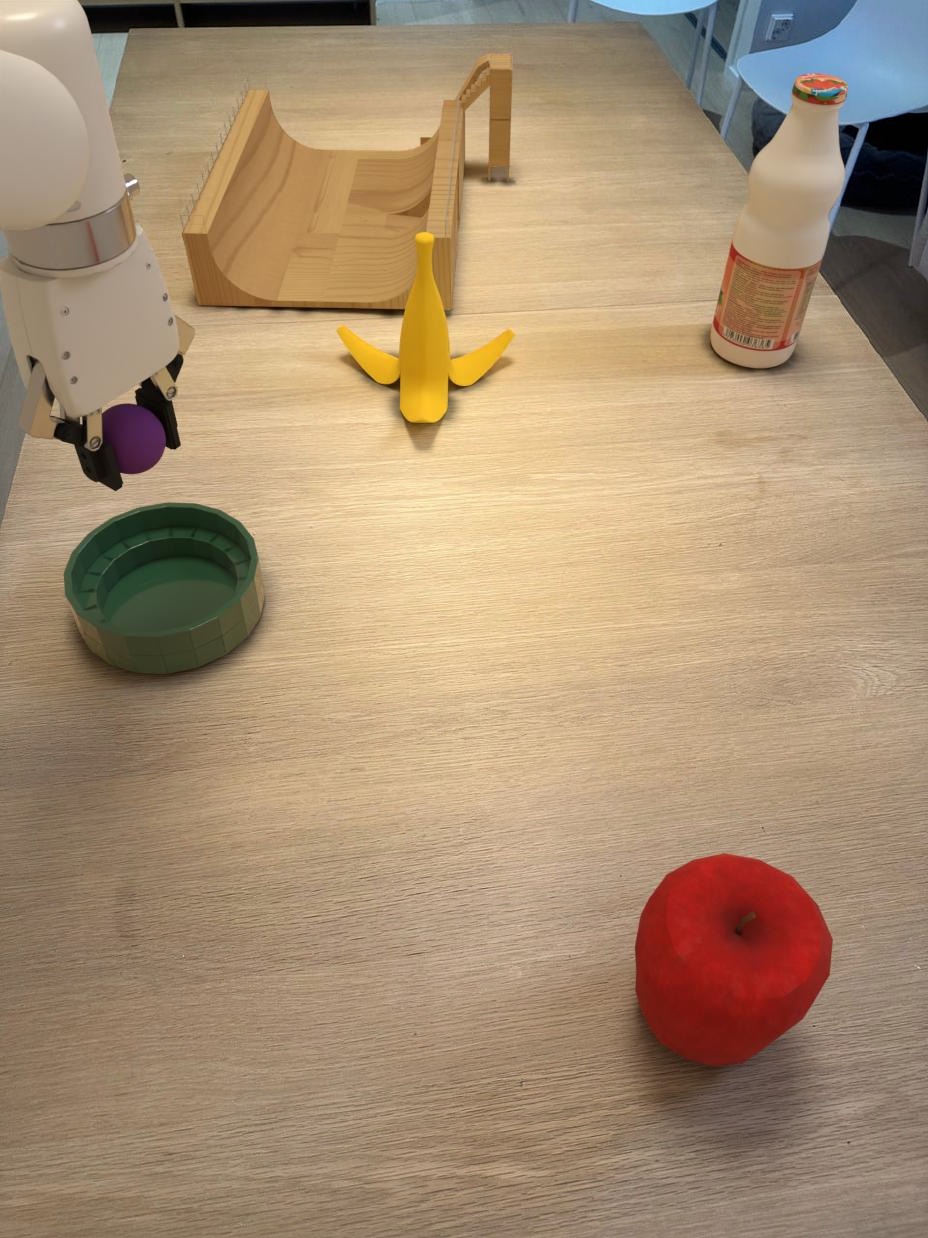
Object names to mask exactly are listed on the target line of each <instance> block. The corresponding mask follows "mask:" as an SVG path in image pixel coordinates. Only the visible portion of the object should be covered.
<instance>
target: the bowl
mask: <svg viewBox="0 0 928 1238" xmlns="http://www.w3.org/2000/svg"><path fill="white" fill-rule="evenodd" d="M63 584H64V587H63V588H64V595H65V598H66V601H67V604H68V606H69V609H70V612H71V614H72V616H73V619H74V622H75V625H76V627H77V629H78V633H79V634H80V635H81V638H82V639H83V641H84V643H85V644H86V645H87V647H88V649H89V650H90V651H91V652H92V653H93V654H94V655H96V656H98V657H99V658H100V659H101V660H103V661H104V662H106V663H107V664H109V665H110V666H113V667H116V668H119V669H122V670H125V671H128V672H129V671H130V672H132V673H136V674H157V675H159V674H161V675H168V674H174V673H178V672H183V671H188V670H192V669H193V670H194V669H198V668H201V667H203V666H205V665H206V664H209V663H211V662H213V661H215V660H218V659H219V658H222V657H223V656H226V655H227V654H228V653H230V652H231V651H232V650H234V649H235V648H236V647H237V646H238V645H240V644H241V643H242V642H243V641H244V640H245V639H247V638H248V637H249V636H250V634H251V632H252V631H253V629H254V627H255V626H256V624H257V623H258V621H259V620H260V618H261V617H262V612H263V608H264V602H265V598H266V594H265V587H264V582H263V574H262V569H261V563H260V558H259V553H258V550H257V546H256V541H255V538H254V537H253V535H252V534H251V533H250V532H249V531H248V529H247V528H246V527H245V526H244V524H243V523H242V522H241V521H240V520H238V519H237V518H235V517H233V516H231V515H230V514H228V513H227V512H225V511H224V510H222V509H220V508H219V509H218V508H215V507H211V506H207V505H203V504H199V503H196V502H160V503H155V504H149V505H144V506H138V507H135V508H133V509H131V510H128V511H125V512H122V513H120V514H118V515H115V516H112V517H110V518H109V519H107V520H106V521H104V522H103V523H102V524H100V525H98V526H97V527H95V528H94V529H93V530H91V531H90V532H88V533H87V534H86V535H85V536H84V538H83V539H82V540H81V541H80V542H79V543H78V544H77V546H76V547H75V548H74V549H73V550H72V552H71V553H70V556H69V559H68V561H67V564H66V567H65V568H64V571H63Z"/></svg>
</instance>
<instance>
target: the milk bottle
mask: <svg viewBox="0 0 928 1238" xmlns="http://www.w3.org/2000/svg"><path fill="white" fill-rule="evenodd" d="M848 92H849V85H848V83H847V82H846V81H845V80H844V79H842V78H840V77H837V76H834V75H830V74H825V73H817V72H815V73H813V72H811V73H805V74H801V75H799V76H797V78H796V79H795V81H794V83H793V86H792V88H791V95H790V98H791V101H792V103H791V106H790V107H789V110H788V112H787V114H786V115H785V118H784V119H783V121H782V123H781V124H780V126H779V128H778V129H777V131H776V133H775V134H774V135H773V137H772V139H771V140H770V141H769V142H768V143H767V144H766V145H765V146H764V147H763V148H761V149H760V150H759V152H758V153H757V154H756V155H755V157H754V159H753V161H752V164H751V166H750V170H749V172H748V177H747V191H748V192H747V195H748V196H747V201H746V202H745V204H744V206H743V207H742V209H741V210H740V212H739V214H738V217H737V220H736V223H735V227H734V230H733V233H732V237H731V243H730V247H729V252H728V256H727V259H726V260H727V261H726V264H725V269H724V273H723V277H722V281H721V285H720V290H719V293H718V298H717V302H716V307H715V311H714V316H713V318H712V319H713V320H712V324H711V328H710V344H711V348H713V350H714V351H715V353H716V354H717V355H719V356H720V357H721V358H722V359H724V360H726V361H727V362H729V363H732V364H734V365H737V366H741V367H745V368H751V369H769V368H774V367H778V366H779V365H782V364H784V363H786V361H788V360H789V359H790V358H791V356H792V355H793V353H794V351H795V348H796V346H797V343H798V339H799V337H800V333H801V331H802V330H801V329H802V326H803V323H804V320H805V316H806V314H807V311H808V307H809V304H810V301H811V297H812V294H813V292H814V288H815V285H816V282H817V278H818V275H819V271H820V268H821V265H822V261H823V259H824V256H825V253H826V249H827V246H828V241H829V238H830V232H831V219H830V215H831V211H832V210H833V208H834V206H835V205H836V204H837V202H838V200H839V198H840V196H841V195H842V191H843V188H844V184H845V181H846V180H845V179H846V168H845V164H844V161H843V158H842V153H841V147H840V134H839V133H840V132H839V128H840V127H839V112H840V109H841V108H842V107H844V105H845V102H846V100H847V97H848Z"/></svg>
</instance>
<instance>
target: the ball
mask: <svg viewBox="0 0 928 1238" xmlns="http://www.w3.org/2000/svg"><path fill="white" fill-rule="evenodd" d="M102 439H104V440H105V441H107V442H109V443H110V444H111V445H112V447H113V450H114V453H115V457H116V460H117V464H118V467H119V470H120V474H123V475H138V474H142V473H146V472H148V471H150V470H151V469H153V468H154V467H155V466H156V465H157V464H158V463H159V462H160V460H161V459H162V457H163V456H164V452H165V450H166V447H165V446H166V437H165V431H164V428H163V426H162V424H161V422H160V421H159V419H158V418H157V417H156V416H155V415H154V414H153V413H152V412H151V411H149V410H148V409H146V408H144V407H142V406H140V405H137V403H127V402H126V403H118V404H115V405H112V406H110V407H108V408H107V409H105V410H104V411H102Z"/></svg>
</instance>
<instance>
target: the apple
mask: <svg viewBox="0 0 928 1238" xmlns="http://www.w3.org/2000/svg"><path fill="white" fill-rule="evenodd" d="M833 944H834V939H833V936H832V934H831V931H830V929H829V927H828V925H827V922H826V920H825V917H824V915H823V913H822V910H821V908H820V906H819V904H818V903H817V902H816V900H814V898H813V897H811V895H810V894H809V893H808V892H807V891H806V889H804V887H802V885H801V884H800V883H799V881H797V879H796V878H794V876H793V875H791V874H789V873H786V872H785V871H783V870H781V869H779V868H777V867H775V866H773V865H771V864H769V863H767V862H765V861H763V860H761V859H758V858H754V857H747V856H743V855H738V854H731V853H725V852H724V853H723V852H722V853H719V854H714V855H710V856H703V857H700V858H695V859H692V860H690V861H688V862H686V863H685V864H683V865H681V866H679V867H677V868H675V869H673V870H672V871H670V872H669V873H667V874H666V875H665V876H664V877H663V878H662V880H661V881H660V883H659V884H658V885H657V887H656V888H655V890H653V892H652V893H651V895H650V896H649V898H648V899H647V902H646V903H645V905H644V907H643V909H642V911H641V913H640V917H639V921H638V926H637V932H636V938H635V943H634V953H635V954H634V957H635V990H634V991H635V995H636V997H637V1000H638V1004H639V1007H640V1010H641V1014H642V1016H643V1017H642V1018H643V1019H644V1020H645V1022H646V1023H647V1025H648V1026H649V1028H650V1029H651V1032H653V1034H654V1036H655V1037H656V1039H657V1040H658V1041H659V1043H660V1044H661V1045H662V1046H665V1047H666V1048H668V1049H669V1050H671V1051H672V1052H674V1053H675V1054H677V1055H679V1056H680V1057H681V1058H683V1059H685V1060H687V1061H691V1062H696V1063H697V1064H698V1063H699V1064H701V1065H702V1064H703V1065H706V1066H709V1067H713V1068H715V1067H724V1066H725V1067H726V1066H734V1065H742V1064H743V1063H745V1062H746V1061H748V1060H750V1059H751V1058H752V1057H754V1056H755V1055H757V1054H758V1053H760V1052H762V1051H763V1050H764V1049H766V1048H767V1047H768V1046H769V1045H771V1044H772V1043H773V1042H775V1041H776V1040H778V1038H780V1037H781V1036H782V1035H784V1034H785V1033H787V1032H788V1031H789V1030H791V1029H792V1028H793V1027H795V1026H796V1025H798V1024H799V1023H800V1022H802V1020H804V1019H805V1017H806V1015H807V1013H808V1012H809V1010H810V1009H811V1007H812V1006H813V1004H814V1002H815V1000H817V997H818V995H819V994H820V992H821V990H822V989H823V987H824V986H825V984H826V982H827V980H828V978H829V977H830V975H831V966H832V965H831V964H832V956H833V955H832V954H833Z"/></svg>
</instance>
